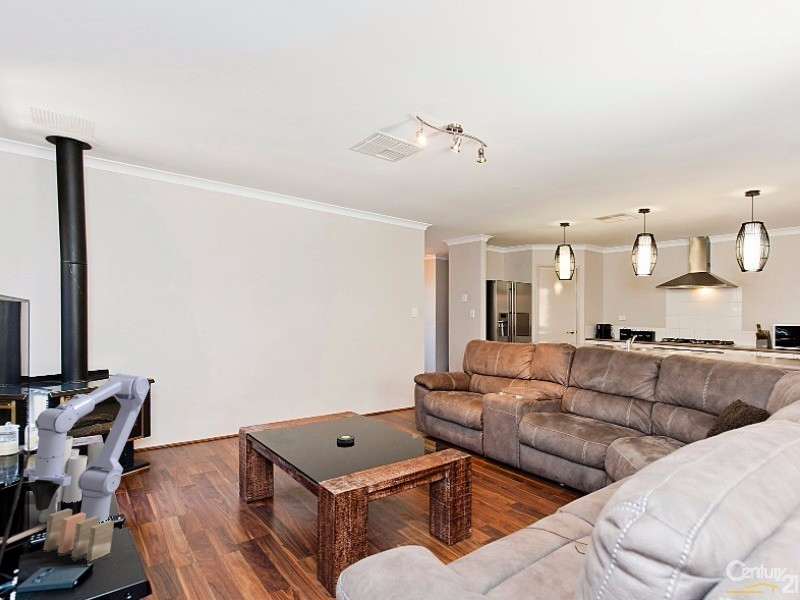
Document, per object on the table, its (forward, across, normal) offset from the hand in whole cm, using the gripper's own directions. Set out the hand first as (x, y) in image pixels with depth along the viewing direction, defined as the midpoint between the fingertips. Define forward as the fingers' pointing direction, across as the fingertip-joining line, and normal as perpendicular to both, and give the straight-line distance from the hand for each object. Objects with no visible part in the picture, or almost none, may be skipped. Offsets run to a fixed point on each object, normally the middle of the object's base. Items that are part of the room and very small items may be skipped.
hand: (42, 509), depth 116 cm
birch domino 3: (+10, +18, +3) cm, 21 cm away
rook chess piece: (+11, -15, +13) cm, 23 cm away
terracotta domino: (+10, +8, +3) cm, 13 cm away
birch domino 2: (+10, +12, +3) cm, 16 cm away
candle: (+11, -27, +25) cm, 39 cm away
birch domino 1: (+10, +2, +3) cm, 11 cm away
